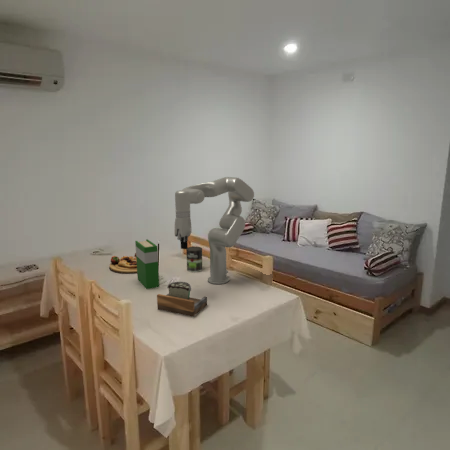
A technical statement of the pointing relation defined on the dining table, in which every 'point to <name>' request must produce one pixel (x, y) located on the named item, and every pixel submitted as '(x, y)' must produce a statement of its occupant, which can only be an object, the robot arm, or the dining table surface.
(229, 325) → the dining table surface
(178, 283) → the food container
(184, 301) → the tray
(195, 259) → the coffee can
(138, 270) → the hardback book
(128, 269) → the wooden plate with food
